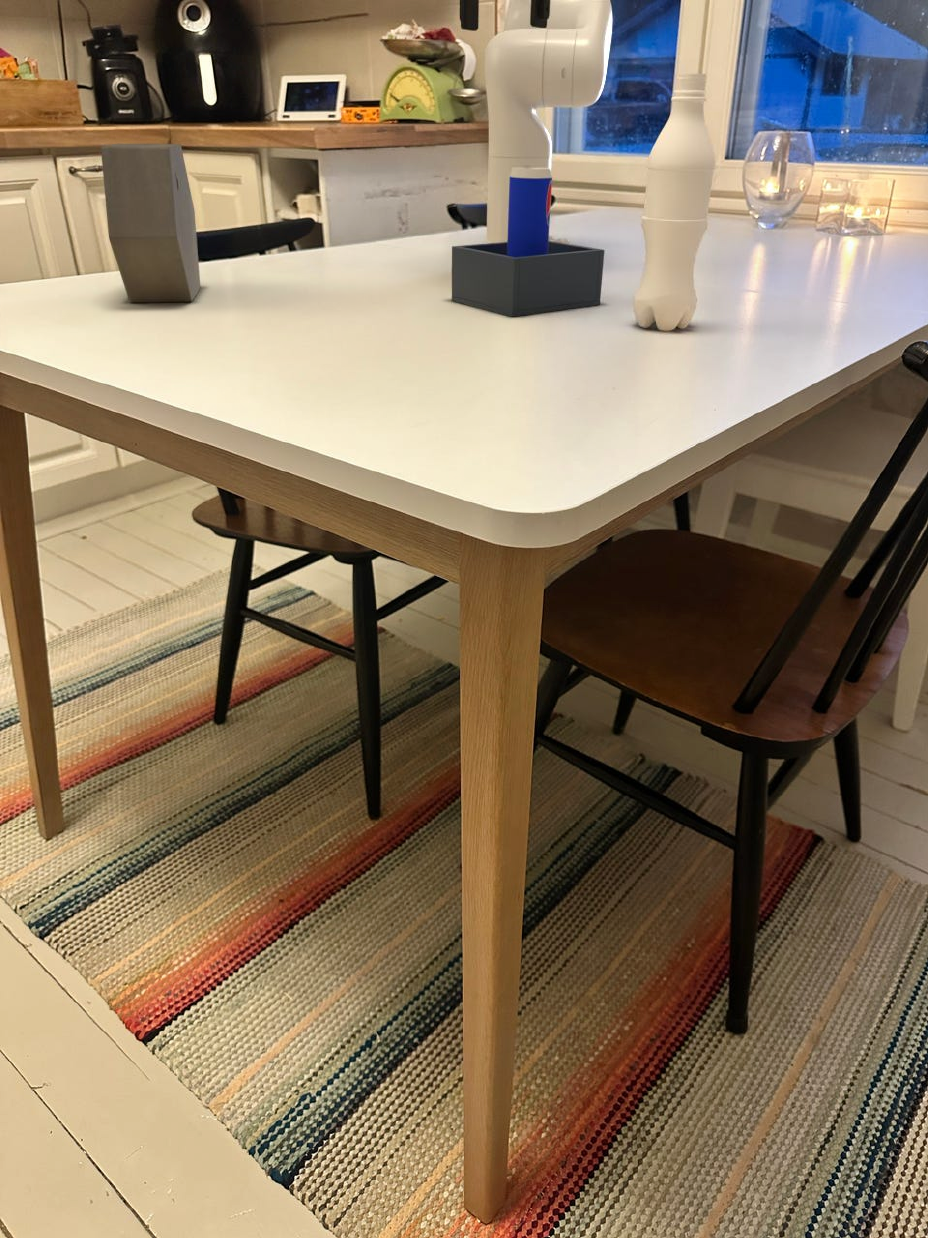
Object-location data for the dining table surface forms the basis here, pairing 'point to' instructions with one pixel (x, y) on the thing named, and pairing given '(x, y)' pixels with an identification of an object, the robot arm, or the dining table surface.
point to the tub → (526, 278)
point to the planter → (151, 221)
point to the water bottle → (675, 210)
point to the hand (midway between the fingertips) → (503, 28)
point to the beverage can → (529, 211)
